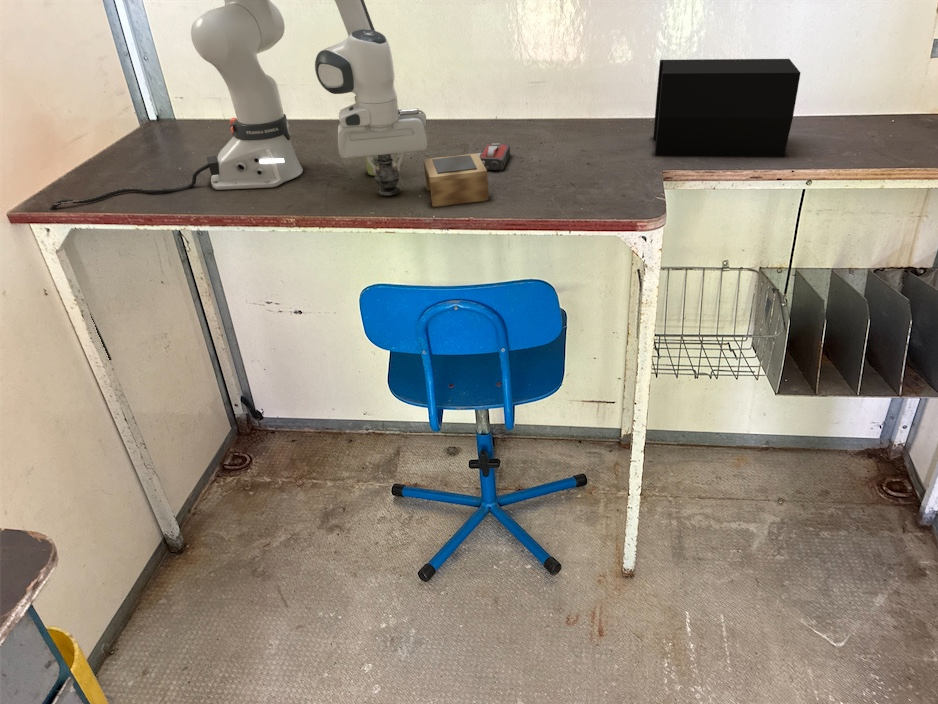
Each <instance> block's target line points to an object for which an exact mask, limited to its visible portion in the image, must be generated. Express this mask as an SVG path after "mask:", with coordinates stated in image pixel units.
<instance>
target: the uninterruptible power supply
mask: <svg viewBox="0 0 938 704" xmlns="http://www.w3.org/2000/svg"><path fill="white" fill-rule="evenodd" d="M800 77H801V71H800V70H799V69H798V68H797V67H796V65H795V64H794V62H792V60H791V59H790V58H717V59H715V58H713V59H711V58H710V59H708V58H707V59H703V58H701V59H698V58H697V59H695V58H693V59H659V66H658V77H657V87H656V98H655V111H654V112H655V113H654V125H653V137H652V138H653V141H655V148H654V156H656V157H657V156H659V157H661V156H662V157H665V156H669V157H769V158H770V157H771V158H775V157H777V158H778V157H779V158H782V157H785V153H786V149H787V144H788V141H789V137H790V132H791V128H792V123H793V118H794V114H795V108H796V102H797V98H798V97H797V95H798V91H799V85H800Z"/></svg>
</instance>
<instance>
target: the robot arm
mask: <svg viewBox="0 0 938 704" xmlns="http://www.w3.org/2000/svg"><path fill="white" fill-rule="evenodd" d="M223 1H224V6H220V7H216V8H212V9H209V10H208V11H205V13H203V14H201V15H200V16H199V17H198V18H196V19H195V20H194V21H193V22H192V24H191V28H190V38H191V41H192V44H193V45H192V46H193V47H194V49H195V51H196V52H197V54H198V55H199V56H200V57H201V58H202V59H203V60H205V61H206V62H207V63H209V64H211V65H212V66H213V67H214V68H215V69H216V70H217V72H218V73H219V75H220V76H221V78H222V79H223V81H224V83H225V85H226V87H227V89H228V93H229V96H230V98H231V102H232V105H233V109H234V113H235V116H236V117H231V118H230V120H229V127H230V131H231V135H232V136H233V137H232V138H230V140H229V141H228V142H227V143H226V144H225V145H224V146H223V147H222V148H221V150H220V151H218V155H212V156H207V157H206V161H207V164H205V165H203V166H201V167H199V168H198V169H196V170H195V171H194V172H193V174H192V177H191V182H190V183H189V184H188V185H185V186H183V187H179V188H161V189H162V190H154V189H151V190H142V189H143V188H141V189H124V188H121V189H122V190H119V189H116V190H117V191H114V190H113V191H114V192H111V191H109V192H110V193H108V192H107V193H108V194H105V193H104V194H105V195H103V194H101V195H102V196H100V195H98V196H99V197H97V196H95V197H96V198H93V197H91V198H92V199H89V198H87V199H88V200H84V201H79V202H73V203H72V204H89V203H92V202H93V203H94V202H96V201H100V200H103V199H106V198H108V197H111V196H114V195H118V194H123V193H129V192H132V193H133V192H137V193H145V194H163V193H164V194H165V193H167V194H168V193H169V194H170V193H177V192H181V191H185V190H189V189H192V188H193V187H194V186H195V185H196V183H197V177H198V175H199V174H200V173H202V172H204V171H205V170H208V169H209V172H210V175H211V177H210V178H211V179H210V183H211V184H210V185H211V187H212V188H213V189H215V190H219V191H220V190H221V191H222V190H240V189H241V190H243V189H264V188H265V189H266V188H276V187H278V186H280V185H281V184H283V183H286V182H288V181H291V180H294V179H295V178H298V177H299V176H301V174H303V172H304V169H303V167H302V165H301V163H300V161H299V159H298V157H297V155H296V151H295V150H294V146H293V144H292V140H291V138H292V137H291V136H292V135H291V129H290V125H289V121H288V118H287V115H286V114H285V113H284V110H283V104H282V101H281V95H280V90H279V86H278V83H277V82H276V80H275V79H274V78H273V77H272V76H270V75H268V74H267V73H266V72H265V71H264V70H263V67H262V66H261V64H260V62H259V59H258V54H260V53H263V52H266V51H268V50H270V49H271V48H273V47H274V46H275V45H276V44H277V43H278V42H280V40H281V39H283V37H284V34H285V29H286V27H285V21H284V18H283V15H282V13H281V11H280V10H279V8H278V7H277V6H276V5H275V4H274V3H273V2H272V1H271V0H223ZM334 2H335V5H336V7H337V10H338V13H339V14H340V15H339V16H340V18H341V20H342V23H343V25H344V28H345V30H346V32H347V38H346V39H344V40H342V41H340V42H339V43H336V44H333V45H331V46H328V47H326V48H324V49H322V50H320V51H319V52H318V53H317V55H316V57H315V61H314V71H315V75H316V78H317V80H318V82H319V84H320V86H322V88H323V90H325V91H327V92H328V93H331V94H332V95H343V94H344V95H345V94H349V93H353V94H354V95H355V96H356V98H357V103H356V102H355V103H353V104H350V105H348V106H346V107H343V108H341V109H340V110H339V112H338V121H339V124H338V127H337V148H338V149H337V150H338V155H339V156H340V157H341V158H342V159H354V158H363V157H364V158H365V157H367V161H368V163H369V164H370V165H371V166H372V168H373V172H374V174H380V169H379V164H376V165H375V164H374V162H373V161H372V160H373V156H377V155H387V154H390V155H396V161H395V162H392V168H393V171H394V172H396V173H400V172H401V168H400V166H401V163H402V161H403V159H404V154H408V153H417V152H425V151H426V150H427V149H428V147H429V146H428V145H429V144H428V138H427V134H426V129H425V128H426V126H427V124H428V123H427V115H426V113H425V112H424V111H423V110H421V109H419V108H410V109H406V108H405V109H399V104H398V102H399V101H398V94H397V91H396V89H395V67H394V61H393V55H392V54H393V53H392V51H391V47H390V44H389V41H388V39H387V37H386V36H385V35H384V34H383V33H382V32H379V31H377V30H376V29H375V27H374V25H373V22H372V19H371V17H370V16H371V15H370V14H369V11H368V8H367V5H366V2H365V0H334ZM73 200H75V199H70V198H69V199H66V198H65V199H60V200H57V201H55V202H54V203H61V202H67V201H73ZM60 205H61V204H58V205H53V204H51V206H50V207H49V211H54V210H55V209H56V208H57V207H59V206H60ZM90 315H91V318H92V320H93V322H94V324H95V327H96V330H97V333H98V335H99V337H100V339H101V342H102V344H103V347H104V348H105V351H106V353H107V355H108V358H109V360H110V361H112V357H111V354H110V352H109V349H108V348H107V347H108V346H107V345H106V343H105V341H104V339H103V337H102V334H101V332H100V330H99V328H98V326H97V324H96V322H95V320H94V318H93V315H92V314H91V313H90ZM103 347H102V348H103ZM109 360H108V361H109Z"/></svg>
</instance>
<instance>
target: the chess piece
mask: <svg viewBox="0 0 938 704" xmlns="http://www.w3.org/2000/svg"><path fill="white" fill-rule="evenodd" d="M391 156H392V154H387V155H378V160H377V162H378V163H379V168H380V174H377V175H375V176H374V180H375V181H376V183H377V185H378V187H380V188H378V189H377V193H378V194H379V195H381V196H394V195H397V194H399V193H400V192H401V188H400V187H398V186H397V185H398V184H399V180H400V176H401V175H400V174H399V172H394V171H393V164H392V163H393V161H394V159H393V158H392V157H391Z"/></svg>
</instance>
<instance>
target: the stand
mask: <svg viewBox="0 0 938 704" xmlns="http://www.w3.org/2000/svg"><path fill="white" fill-rule="evenodd" d="M422 161H423V171H424V179H425V187H426V191H430V199H431V206H432V207H433V208H436V207H445V206H453V205H460V204H469V203H470V204H471V203H477V202H478V203H479V202H485V201H489V183H488V182H489V181H488V180H489V179H488V170H486V168H485V166H484V164H483V163H482V161H481V159H480V157H479V155H478V152H477V153H468V154H460V155H450V156H442V157H441V156H440V157H433V158H424V159H422Z"/></svg>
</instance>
